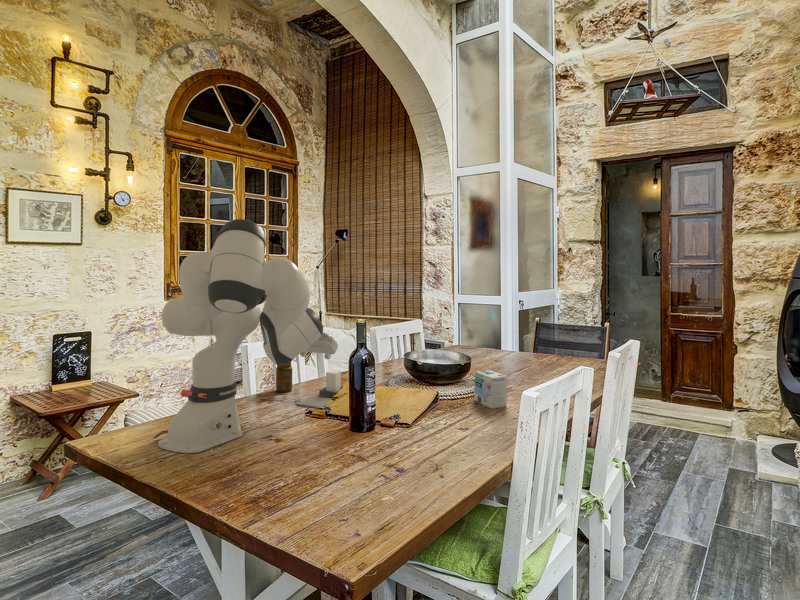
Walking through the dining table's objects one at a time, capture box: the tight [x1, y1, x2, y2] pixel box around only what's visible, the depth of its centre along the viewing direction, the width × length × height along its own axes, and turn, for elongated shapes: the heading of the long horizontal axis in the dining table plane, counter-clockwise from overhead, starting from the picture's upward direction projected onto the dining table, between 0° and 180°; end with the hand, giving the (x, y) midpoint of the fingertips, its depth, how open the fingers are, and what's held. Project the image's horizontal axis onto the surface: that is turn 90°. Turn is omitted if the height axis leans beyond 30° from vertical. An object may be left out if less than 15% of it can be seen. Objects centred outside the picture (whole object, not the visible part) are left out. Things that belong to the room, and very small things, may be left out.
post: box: [325, 369, 342, 392], centre depth 177 cm, size 4×4×8 cm
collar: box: [318, 386, 344, 398], centre depth 177 cm, size 8×8×2 cm
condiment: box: [273, 361, 295, 395], centre depth 180 cm, size 7×8×12 cm
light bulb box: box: [473, 369, 508, 409], centre depth 168 cm, size 11×7×11 cm, turn 25°
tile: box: [295, 395, 332, 409], centre depth 166 cm, size 10×10×1 cm
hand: (316, 356), depth 164 cm, fingers open, 8 cm apart
